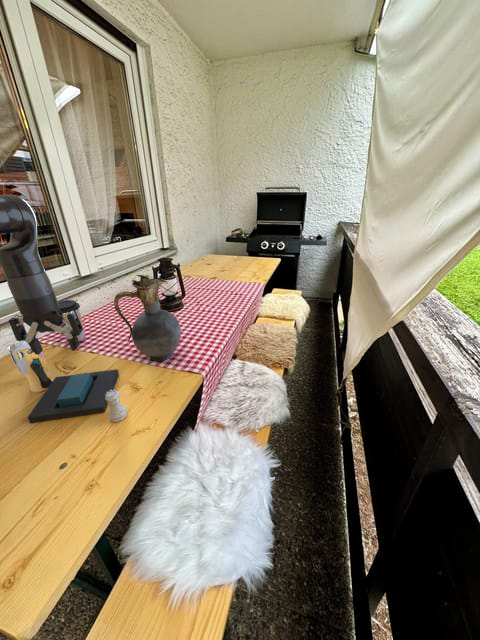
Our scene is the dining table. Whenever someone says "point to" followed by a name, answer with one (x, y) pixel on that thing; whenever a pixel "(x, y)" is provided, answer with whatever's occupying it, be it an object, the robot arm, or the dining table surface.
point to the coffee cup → (68, 307)
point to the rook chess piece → (115, 406)
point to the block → (76, 390)
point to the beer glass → (31, 366)
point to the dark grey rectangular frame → (93, 405)
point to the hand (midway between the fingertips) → (57, 350)
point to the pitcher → (151, 321)
